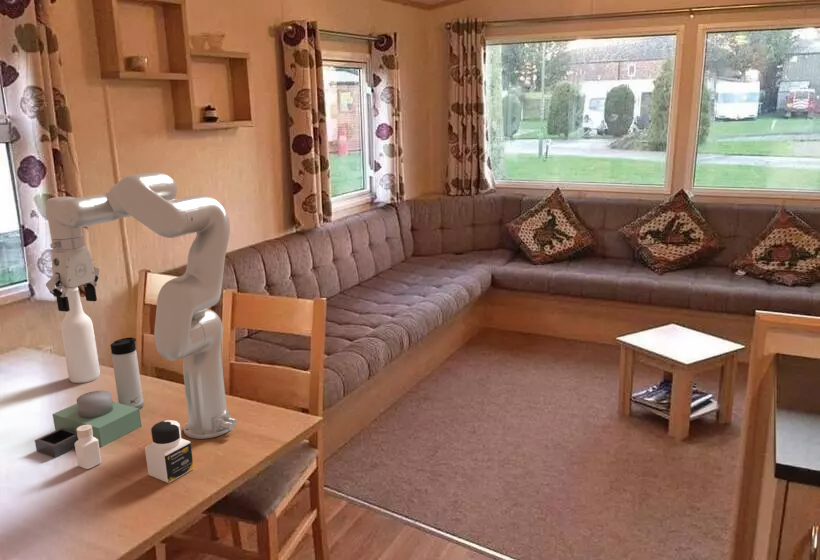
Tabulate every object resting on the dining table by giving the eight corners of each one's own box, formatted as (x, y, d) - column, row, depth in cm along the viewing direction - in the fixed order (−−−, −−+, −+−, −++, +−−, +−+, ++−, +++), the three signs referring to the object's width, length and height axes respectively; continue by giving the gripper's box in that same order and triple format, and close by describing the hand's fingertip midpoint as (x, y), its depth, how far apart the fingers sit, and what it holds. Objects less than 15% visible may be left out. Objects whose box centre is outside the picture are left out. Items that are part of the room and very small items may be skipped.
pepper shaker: (103, 463, 154) (97, 426, 152) (87, 471, 151) (80, 433, 149) (92, 458, 156) (87, 422, 154) (77, 466, 153) (70, 429, 151)
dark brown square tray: (82, 444, 163) (80, 433, 163) (55, 457, 157) (53, 446, 156) (63, 438, 167) (62, 427, 166) (36, 451, 160) (34, 440, 160)
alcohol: (96, 382, 201) (82, 287, 194) (65, 385, 200) (49, 290, 192) (103, 371, 210) (89, 280, 202) (73, 374, 208) (58, 282, 201)
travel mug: (139, 411, 181) (129, 343, 176) (115, 412, 181) (105, 343, 176) (148, 402, 187) (139, 335, 182) (125, 402, 187) (116, 335, 182)
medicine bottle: (168, 484, 145) (162, 434, 142) (147, 475, 149) (141, 427, 146) (194, 469, 151) (188, 421, 148) (173, 461, 154) (167, 414, 151)
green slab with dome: (141, 426, 172) (137, 394, 170) (101, 446, 162) (96, 413, 160) (96, 413, 180) (91, 382, 178) (55, 431, 170) (49, 399, 168)
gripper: (53, 251, 165) (64, 316, 169) (103, 238, 181) (112, 298, 185) (30, 250, 167) (41, 314, 172) (81, 237, 183) (91, 296, 187)
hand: (78, 305), depth 178 cm, fingers open, 9 cm apart
